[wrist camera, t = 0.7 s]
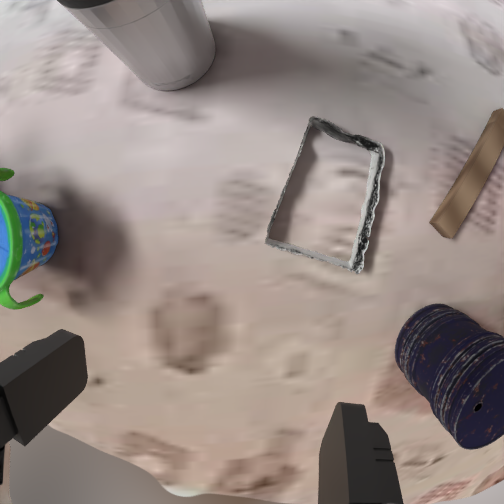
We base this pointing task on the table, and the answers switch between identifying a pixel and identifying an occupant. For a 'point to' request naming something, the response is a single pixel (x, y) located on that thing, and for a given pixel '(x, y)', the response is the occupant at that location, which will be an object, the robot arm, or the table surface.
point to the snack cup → (23, 241)
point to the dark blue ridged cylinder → (455, 372)
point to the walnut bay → (471, 178)
